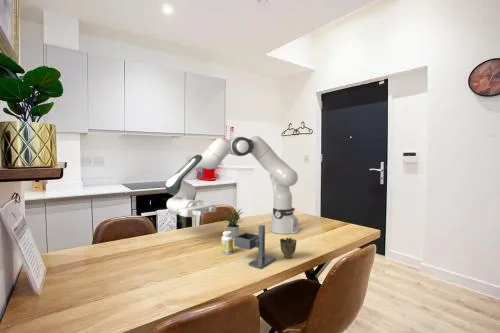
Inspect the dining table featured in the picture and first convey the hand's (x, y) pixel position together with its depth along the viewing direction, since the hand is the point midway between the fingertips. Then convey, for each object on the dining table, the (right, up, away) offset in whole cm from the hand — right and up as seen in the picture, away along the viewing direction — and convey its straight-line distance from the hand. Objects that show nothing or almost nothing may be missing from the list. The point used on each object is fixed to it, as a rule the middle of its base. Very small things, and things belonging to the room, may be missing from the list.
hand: (208, 211), depth 134 cm
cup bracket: (+22, -19, -15) cm, 33 cm away
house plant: (+12, -17, +19) cm, 29 cm away
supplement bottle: (+10, -18, -6) cm, 22 cm away
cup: (+38, -19, -12) cm, 44 cm away
